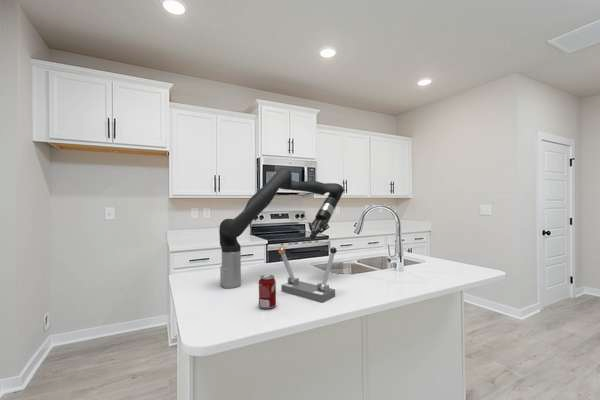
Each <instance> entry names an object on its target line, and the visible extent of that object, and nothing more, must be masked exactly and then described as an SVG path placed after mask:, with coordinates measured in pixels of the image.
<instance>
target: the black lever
mask: <svg viewBox="0 0 600 400" xmlns="http://www.w3.org/2000/svg"><path fill="white" fill-rule="evenodd" d="M337 251H338V250H337V248H336V247H333V246H332V247H331V248H329V252H330V253H329V257H328V260H327V264H326V267H325V271H324V273H323V274H324V275H323V278H322V280H321V283H322V284H320V286H319V289H320V290H323V291H325V288H324V286H326V285H327V282H328V279H329V276H330V273H331V269H332V265H333V262H334V257H335V255H336V253H337Z"/></svg>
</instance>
